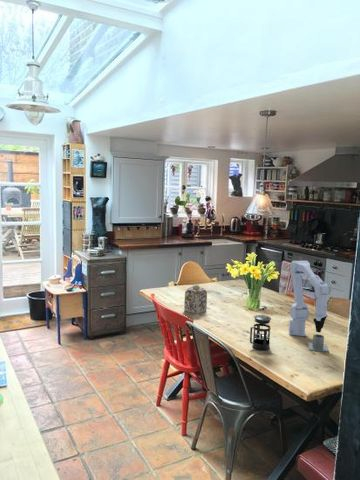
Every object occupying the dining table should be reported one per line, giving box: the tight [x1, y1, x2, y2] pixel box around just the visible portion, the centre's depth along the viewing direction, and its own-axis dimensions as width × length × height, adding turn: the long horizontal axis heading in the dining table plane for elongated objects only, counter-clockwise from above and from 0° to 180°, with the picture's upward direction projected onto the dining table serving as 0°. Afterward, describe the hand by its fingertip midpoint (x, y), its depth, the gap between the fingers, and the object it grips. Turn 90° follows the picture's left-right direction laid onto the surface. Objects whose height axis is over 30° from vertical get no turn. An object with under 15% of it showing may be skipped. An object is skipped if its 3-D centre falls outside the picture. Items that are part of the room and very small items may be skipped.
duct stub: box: [307, 342, 330, 354], centre depth 221 cm, size 10×10×5 cm
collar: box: [312, 333, 325, 349], centre depth 221 cm, size 5×5×6 cm
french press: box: [249, 305, 272, 352], centre depth 219 cm, size 12×9×23 cm
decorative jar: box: [183, 284, 208, 315], centre depth 281 cm, size 12×12×18 cm
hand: (319, 329), depth 221 cm, fingers open, 7 cm apart
